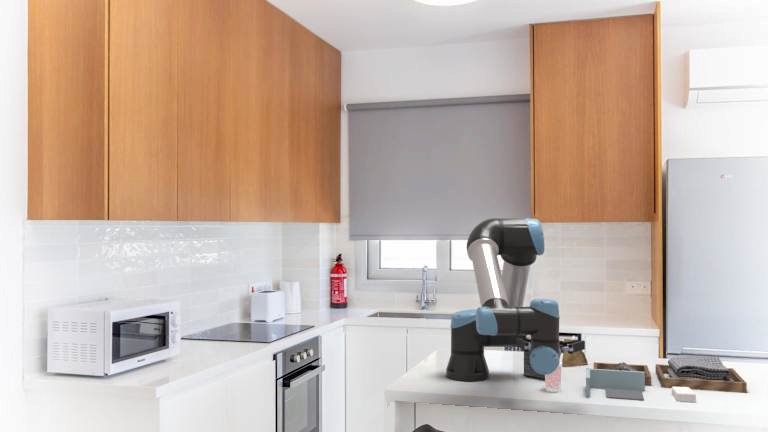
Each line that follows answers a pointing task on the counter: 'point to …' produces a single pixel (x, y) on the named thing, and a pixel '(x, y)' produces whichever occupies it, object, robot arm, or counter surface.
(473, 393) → the counter surface
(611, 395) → the coaster
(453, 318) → the robot arm
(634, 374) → the divider
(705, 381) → the towel frame
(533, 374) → the small box
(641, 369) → the frame
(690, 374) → the towel
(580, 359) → the rock
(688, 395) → the soap
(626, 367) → the fossilized seashell
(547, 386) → the beverage cup
